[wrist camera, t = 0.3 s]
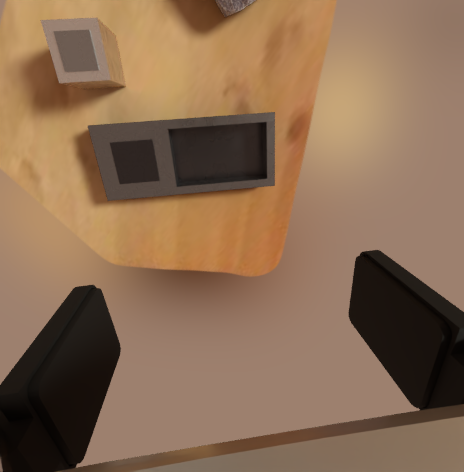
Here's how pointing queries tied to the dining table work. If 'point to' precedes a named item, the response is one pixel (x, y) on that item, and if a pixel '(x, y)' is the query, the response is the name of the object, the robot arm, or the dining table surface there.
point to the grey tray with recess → (185, 155)
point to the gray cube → (84, 53)
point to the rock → (232, 6)
